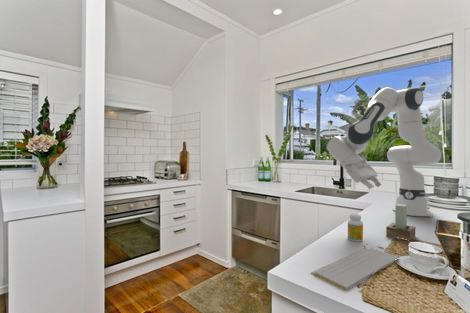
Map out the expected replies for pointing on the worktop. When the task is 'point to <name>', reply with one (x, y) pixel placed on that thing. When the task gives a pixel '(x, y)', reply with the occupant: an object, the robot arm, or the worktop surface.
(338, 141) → the robot arm
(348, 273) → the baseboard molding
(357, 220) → the supplement bottle
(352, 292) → the worktop surface
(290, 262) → the worktop surface
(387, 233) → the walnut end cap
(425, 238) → the worktop surface
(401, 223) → the sage green tall block
